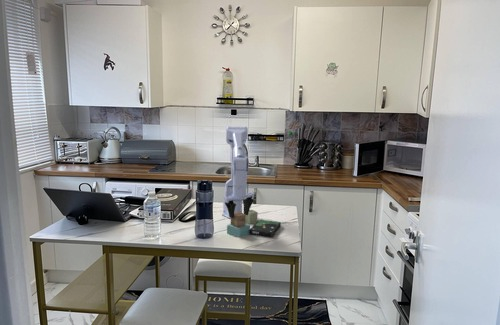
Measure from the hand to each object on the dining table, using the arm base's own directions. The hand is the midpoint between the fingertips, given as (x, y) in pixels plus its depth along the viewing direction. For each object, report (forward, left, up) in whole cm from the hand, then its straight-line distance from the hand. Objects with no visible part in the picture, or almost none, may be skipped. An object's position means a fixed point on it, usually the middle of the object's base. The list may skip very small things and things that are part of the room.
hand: (238, 216), depth 163 cm
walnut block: (0, 0, -4) cm, 4 cm away
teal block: (0, 0, -8) cm, 8 cm away
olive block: (-9, +14, -8) cm, 18 cm away
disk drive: (+4, +12, -9) cm, 15 cm away
